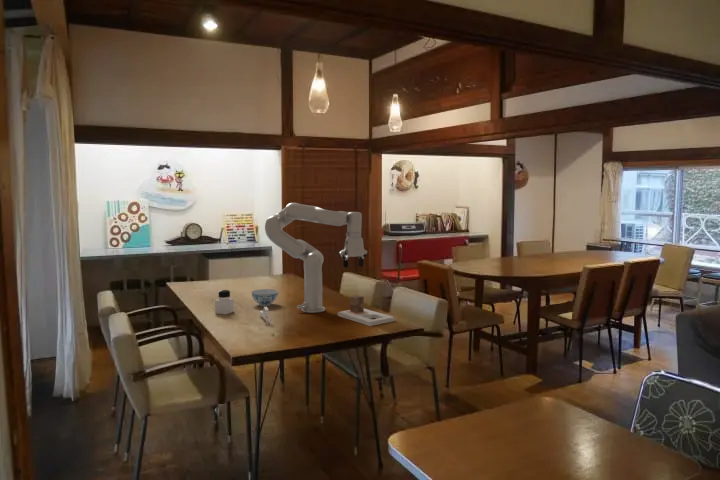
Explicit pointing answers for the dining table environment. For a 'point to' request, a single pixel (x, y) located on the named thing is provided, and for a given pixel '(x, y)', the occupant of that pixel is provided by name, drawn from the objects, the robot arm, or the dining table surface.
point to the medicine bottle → (224, 303)
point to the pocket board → (366, 317)
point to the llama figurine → (265, 314)
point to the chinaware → (264, 296)
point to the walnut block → (356, 304)
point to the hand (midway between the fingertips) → (353, 266)
